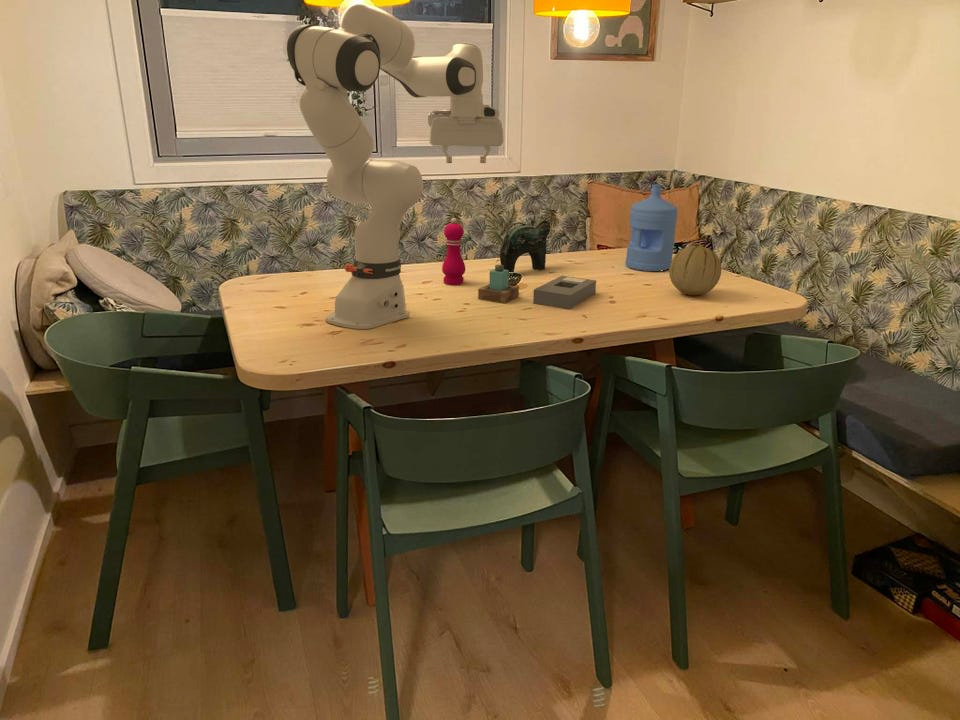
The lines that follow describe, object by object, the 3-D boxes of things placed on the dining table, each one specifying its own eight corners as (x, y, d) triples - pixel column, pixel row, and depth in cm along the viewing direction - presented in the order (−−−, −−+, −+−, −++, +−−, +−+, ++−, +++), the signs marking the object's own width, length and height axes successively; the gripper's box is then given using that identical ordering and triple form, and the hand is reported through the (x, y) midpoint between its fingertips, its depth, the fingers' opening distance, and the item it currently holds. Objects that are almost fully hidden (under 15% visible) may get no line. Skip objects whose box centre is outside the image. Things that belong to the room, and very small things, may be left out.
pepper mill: (466, 280, 218) (467, 216, 211) (463, 286, 211) (464, 220, 204) (443, 279, 218) (443, 215, 211) (440, 285, 211) (440, 219, 204)
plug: (501, 300, 196) (502, 267, 193) (489, 298, 198) (489, 265, 195) (507, 297, 200) (508, 265, 196) (495, 295, 201) (496, 263, 198)
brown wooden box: (504, 303, 193) (505, 293, 192) (478, 299, 197) (478, 288, 196) (518, 296, 200) (518, 286, 199) (492, 292, 204) (492, 282, 203)
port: (569, 309, 189) (570, 294, 187) (533, 303, 194) (533, 288, 192) (595, 293, 205) (596, 279, 204) (561, 288, 210) (561, 274, 209)
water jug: (646, 260, 250) (654, 181, 240) (680, 269, 238) (690, 186, 228) (615, 265, 242) (622, 183, 232) (649, 274, 230) (658, 188, 220)
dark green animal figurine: (539, 266, 239) (541, 207, 232) (552, 269, 234) (555, 210, 227) (496, 274, 227) (497, 212, 220) (509, 278, 222) (511, 215, 215)
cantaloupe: (673, 300, 199) (679, 248, 194) (662, 287, 213) (667, 239, 208) (724, 301, 199) (732, 250, 194) (710, 288, 213) (716, 240, 208)
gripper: (428, 109, 182) (429, 163, 187) (504, 110, 185) (503, 164, 190) (427, 109, 188) (427, 162, 193) (501, 110, 191) (500, 162, 196)
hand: (466, 163), depth 192 cm, fingers open, 8 cm apart
